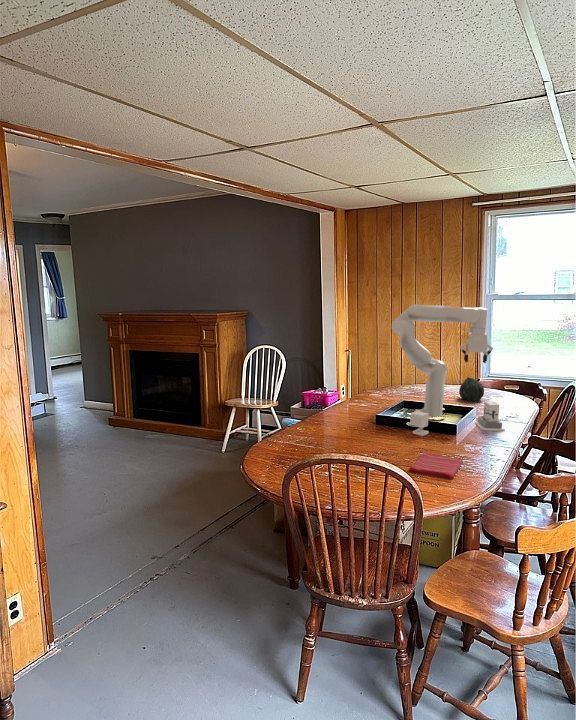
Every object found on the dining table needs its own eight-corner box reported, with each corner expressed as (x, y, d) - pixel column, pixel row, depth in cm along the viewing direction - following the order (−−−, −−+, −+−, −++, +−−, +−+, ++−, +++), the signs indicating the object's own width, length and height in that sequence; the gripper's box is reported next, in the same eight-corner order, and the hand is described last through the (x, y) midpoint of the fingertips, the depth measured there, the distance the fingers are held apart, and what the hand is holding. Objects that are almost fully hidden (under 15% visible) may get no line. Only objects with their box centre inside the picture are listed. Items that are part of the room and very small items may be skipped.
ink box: (482, 422, 279) (484, 400, 277) (491, 422, 279) (493, 400, 277) (488, 427, 271) (490, 404, 269) (497, 427, 271) (500, 404, 269)
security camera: (416, 430, 265) (417, 410, 264) (428, 433, 260) (430, 413, 259) (409, 432, 261) (410, 412, 259) (421, 436, 256) (423, 415, 254)
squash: (492, 392, 331) (479, 372, 336) (479, 396, 321) (466, 376, 327) (476, 404, 341) (463, 384, 346) (463, 408, 331) (450, 387, 337)
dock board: (482, 430, 269) (483, 422, 268) (474, 422, 282) (475, 415, 281) (504, 430, 268) (505, 423, 268) (495, 423, 281) (496, 416, 281)
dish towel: (407, 473, 209) (407, 466, 208) (422, 455, 230) (422, 449, 229) (452, 482, 201) (452, 475, 201) (463, 463, 222) (463, 457, 221)
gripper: (463, 331, 283) (460, 362, 286) (496, 332, 283) (493, 364, 286) (459, 329, 291) (457, 360, 294) (492, 330, 290) (489, 361, 293)
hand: (475, 362), depth 290 cm, fingers open, 9 cm apart
